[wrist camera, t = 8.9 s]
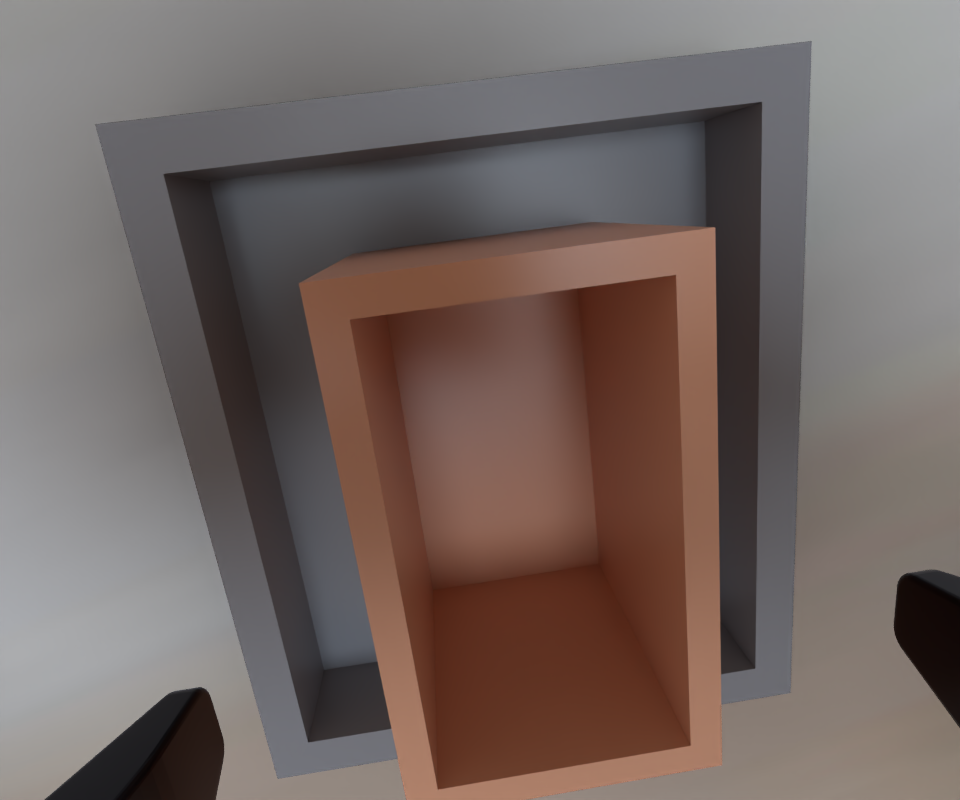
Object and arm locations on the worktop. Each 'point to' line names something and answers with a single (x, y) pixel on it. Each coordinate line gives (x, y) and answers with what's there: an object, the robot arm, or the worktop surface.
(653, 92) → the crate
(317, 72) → the worktop surface
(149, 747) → the robot arm
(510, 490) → the box
